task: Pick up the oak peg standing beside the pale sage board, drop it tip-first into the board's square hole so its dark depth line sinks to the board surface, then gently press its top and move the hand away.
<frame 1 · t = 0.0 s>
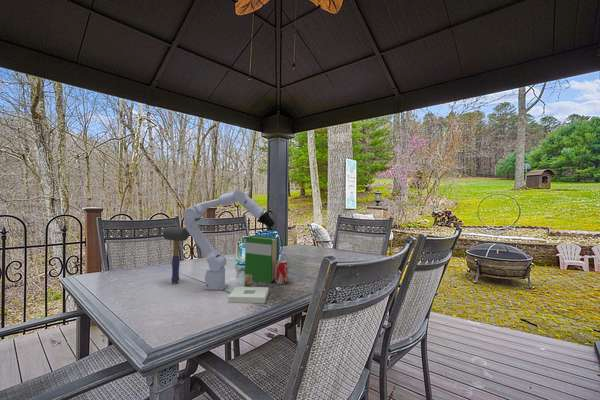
hand: (272, 225, 141), 32 cm above the table, tool tilted 50°, fingers open, 7 cm apart
oak peg: (248, 288, 140), on the table
hardback book: (261, 279, 157), on the table
rubber mallet: (175, 282, 149), on the table
sage board: (249, 297, 128), on the table
soda can: (281, 283, 151), on the table
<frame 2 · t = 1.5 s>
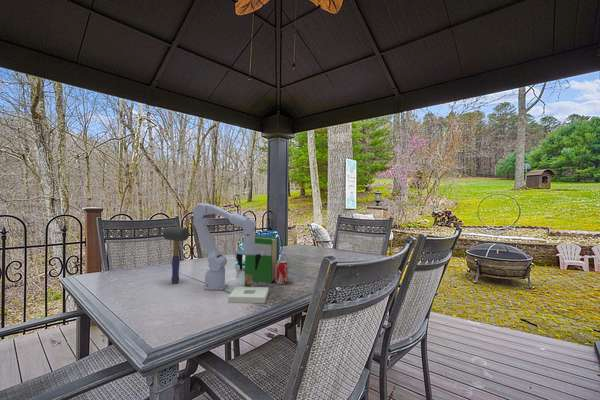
hand: (248, 269, 140), 10 cm above the table, tool pointing down, fingers open, 7 cm apart
nothing on the table moved.
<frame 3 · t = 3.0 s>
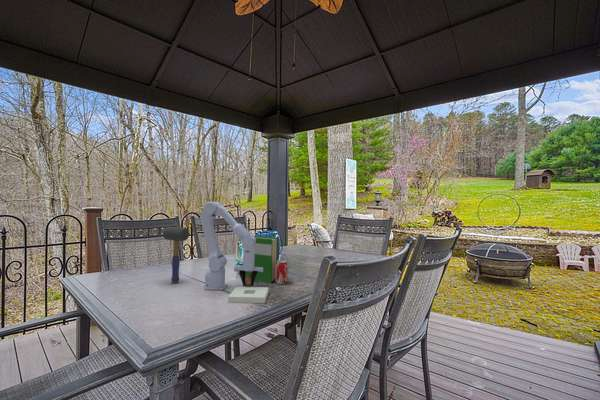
hand: (248, 285, 140), 2 cm above the table, tool pointing down, fingers closed on oak peg, 4 cm apart
oak peg: (248, 288, 140), on the table, touching gripper
everything else where it was.
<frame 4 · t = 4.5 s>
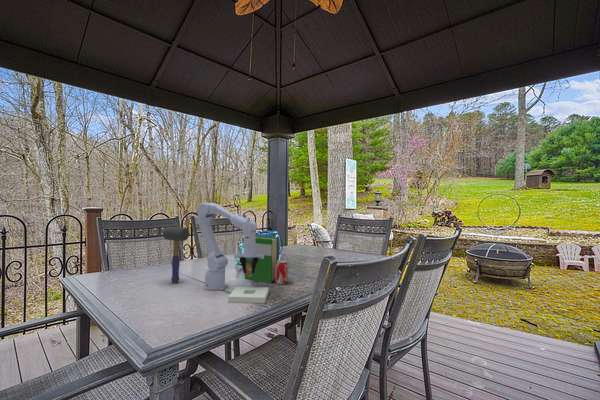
hand: (249, 272, 137), 9 cm above the table, tool pointing down, fingers closed on oak peg, 4 cm apart
oak peg: (249, 276, 137), point 7 cm above the table, touching gripper
everything else where it was.
when the fingers open (3 cm above the table, at t = 6.4 s): oak peg drops 2 cm, resting in sage board.
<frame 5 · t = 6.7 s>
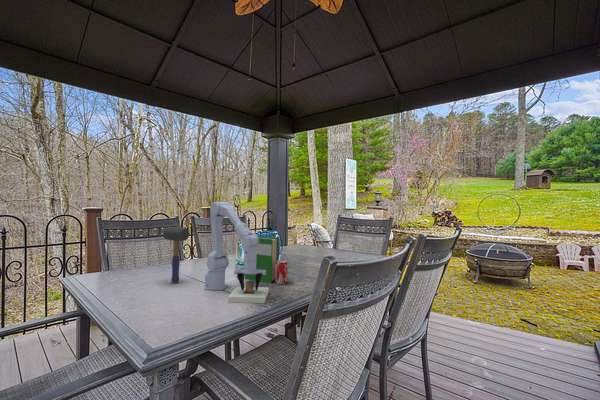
hand: (249, 289, 128), 3 cm above the table, tool pointing down, fingers open, 6 cm apart
oak peg: (249, 297, 128), resting in sage board
everything else where it was.
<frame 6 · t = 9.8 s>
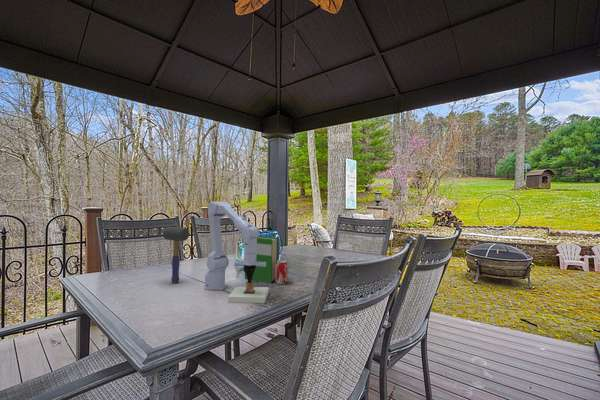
hand: (249, 281, 128), 7 cm above the table, tool pointing down, fingers closed
nothing on the table moved.
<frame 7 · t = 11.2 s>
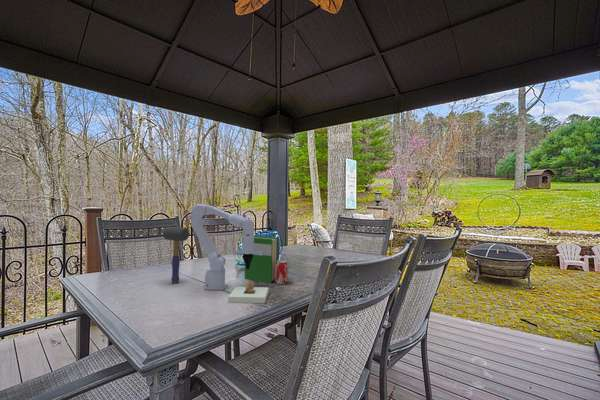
hand: (247, 268, 143), 9 cm above the table, tool pointing down, fingers closed
nothing on the table moved.
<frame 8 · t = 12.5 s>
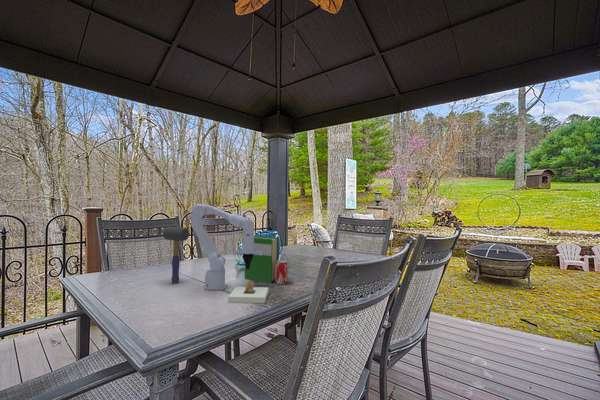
hand: (247, 268, 143), 9 cm above the table, tool pointing down, fingers closed
nothing on the table moved.
at the end: oak peg 0.1 cm off-centre on the sage board, point 0.0 cm above the sage board's base; oak peg tilted 1°; the gripper is holding nothing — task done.
